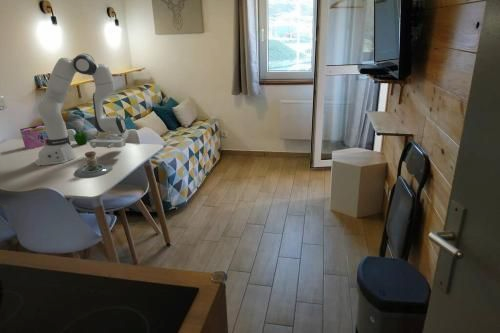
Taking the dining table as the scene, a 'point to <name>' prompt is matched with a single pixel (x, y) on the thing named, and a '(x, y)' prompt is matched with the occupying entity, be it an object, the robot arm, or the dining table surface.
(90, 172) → the grey plate
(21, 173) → the dining table surface
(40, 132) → the gum box
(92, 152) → the bead spool
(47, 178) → the dining table surface
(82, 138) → the green shrub
